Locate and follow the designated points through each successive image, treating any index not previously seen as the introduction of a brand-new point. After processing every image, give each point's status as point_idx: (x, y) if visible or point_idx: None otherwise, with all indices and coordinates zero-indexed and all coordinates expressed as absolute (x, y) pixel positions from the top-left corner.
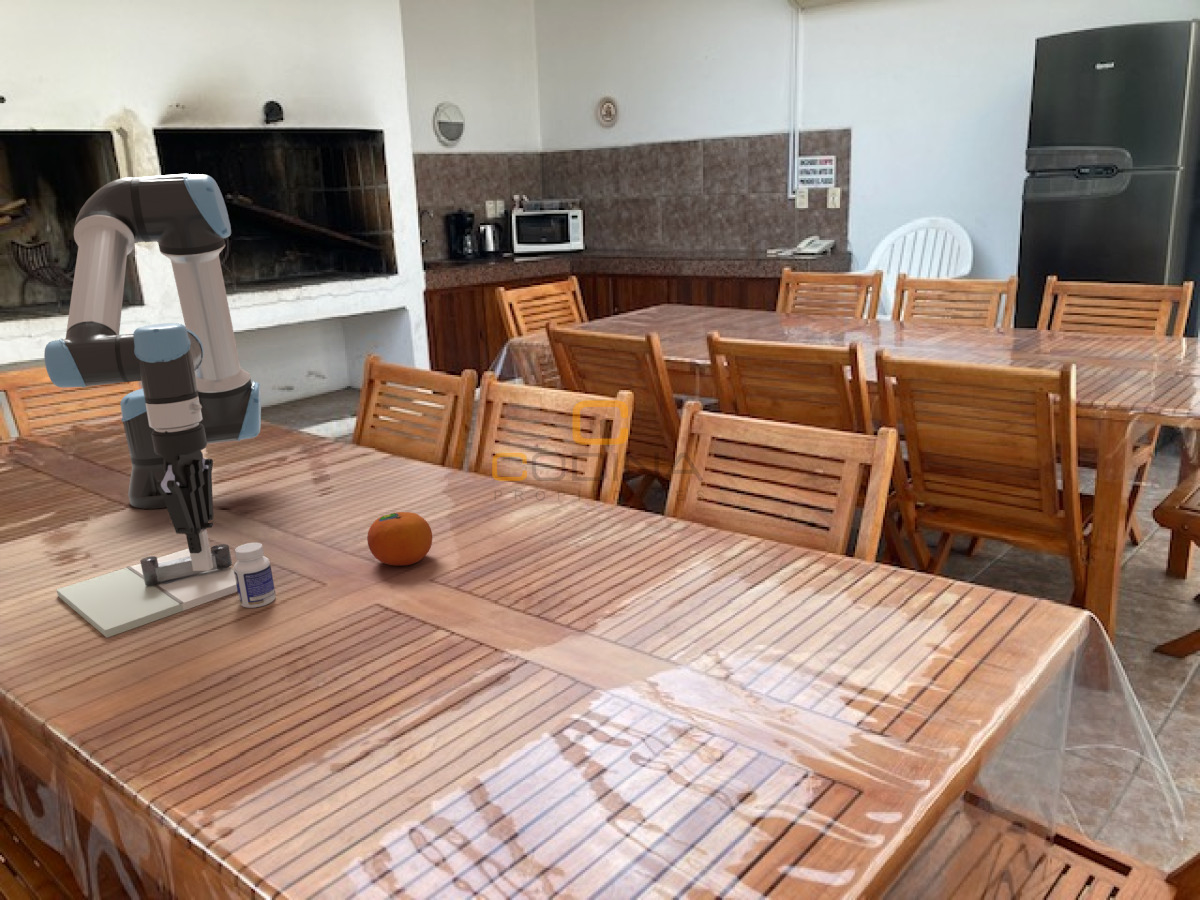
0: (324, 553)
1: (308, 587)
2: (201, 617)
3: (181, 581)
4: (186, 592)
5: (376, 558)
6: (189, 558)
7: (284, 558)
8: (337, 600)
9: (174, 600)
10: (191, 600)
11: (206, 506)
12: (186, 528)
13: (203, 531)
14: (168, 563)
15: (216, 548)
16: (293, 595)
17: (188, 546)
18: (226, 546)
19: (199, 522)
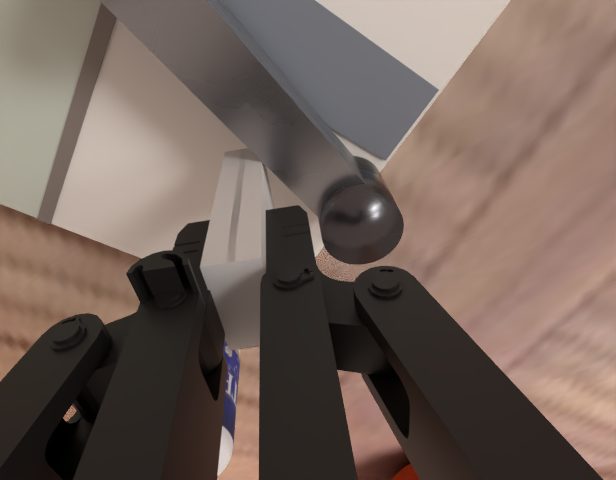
0: (499, 343)
1: None
2: (53, 282)
3: None
4: (122, 177)
5: (400, 476)
6: (267, 119)
7: (479, 270)
8: (243, 457)
9: (48, 178)
10: (81, 233)
11: (401, 434)
12: (68, 422)
13: (244, 347)
14: (177, 39)
15: (350, 225)
16: (245, 393)
17: (174, 248)
18: (374, 253)
19: (221, 405)
